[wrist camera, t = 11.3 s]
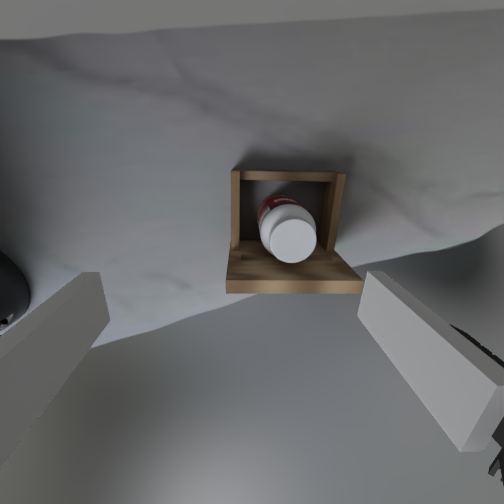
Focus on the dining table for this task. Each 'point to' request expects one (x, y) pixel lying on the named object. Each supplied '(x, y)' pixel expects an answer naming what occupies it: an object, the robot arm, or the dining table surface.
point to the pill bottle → (286, 229)
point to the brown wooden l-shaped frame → (282, 273)
